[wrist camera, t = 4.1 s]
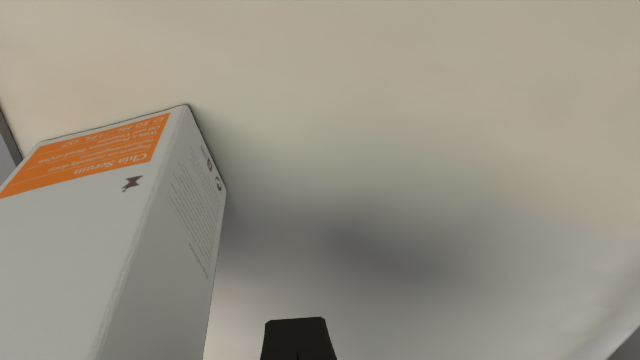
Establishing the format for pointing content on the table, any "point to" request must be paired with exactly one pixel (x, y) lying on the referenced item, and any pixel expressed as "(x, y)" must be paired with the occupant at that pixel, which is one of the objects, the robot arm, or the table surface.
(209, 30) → the table surface
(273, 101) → the table surface
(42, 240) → the skincare box
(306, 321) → the robot arm
